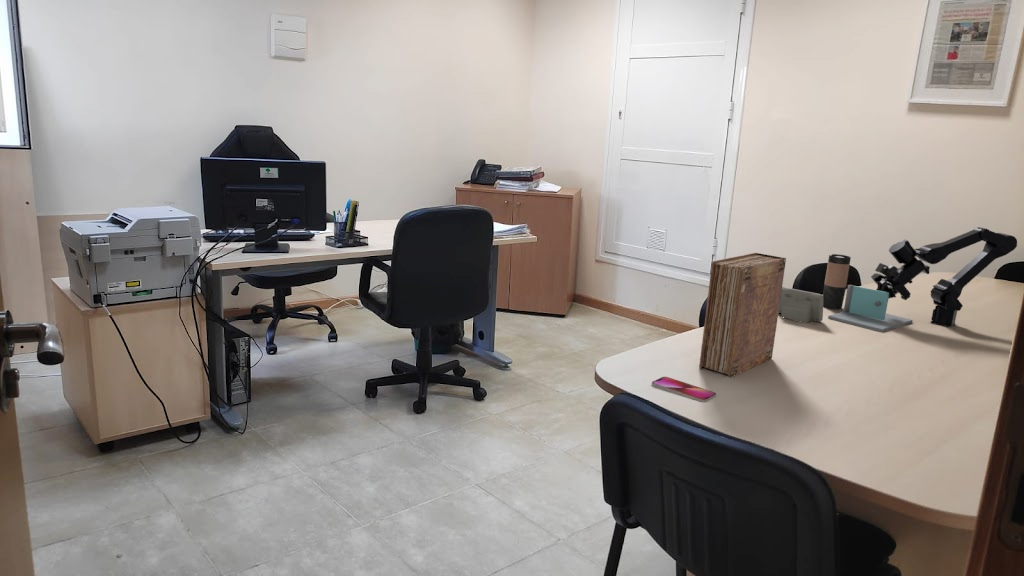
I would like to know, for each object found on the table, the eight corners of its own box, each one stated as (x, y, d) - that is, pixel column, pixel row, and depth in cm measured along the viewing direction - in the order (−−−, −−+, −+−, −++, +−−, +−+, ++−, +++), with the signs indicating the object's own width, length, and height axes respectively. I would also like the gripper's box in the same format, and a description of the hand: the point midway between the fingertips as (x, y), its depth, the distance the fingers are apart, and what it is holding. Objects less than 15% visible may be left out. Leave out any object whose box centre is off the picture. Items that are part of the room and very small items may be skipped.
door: (841, 311, 257) (845, 285, 254) (844, 310, 259) (849, 284, 257) (881, 321, 247) (886, 293, 245) (885, 319, 249) (890, 292, 247)
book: (729, 378, 186) (743, 267, 179) (698, 368, 192) (711, 261, 185) (772, 358, 204) (786, 257, 197) (742, 350, 210) (755, 252, 203)
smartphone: (704, 400, 168) (650, 382, 178) (704, 404, 168) (649, 386, 178) (718, 393, 174) (664, 375, 183) (717, 396, 174) (664, 379, 183)
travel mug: (846, 310, 266) (854, 258, 261) (825, 309, 266) (834, 257, 261) (837, 305, 273) (845, 254, 268) (817, 304, 273) (825, 253, 268)
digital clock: (824, 322, 247) (829, 293, 244) (811, 326, 241) (816, 296, 239) (783, 311, 259) (787, 283, 256) (769, 314, 253) (773, 286, 251)
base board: (912, 322, 253) (913, 314, 252) (881, 332, 238) (883, 323, 237) (858, 309, 267) (860, 302, 267) (826, 318, 253) (828, 310, 252)
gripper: (880, 251, 257) (845, 279, 260) (907, 261, 239) (869, 291, 241) (898, 273, 258) (863, 301, 261) (926, 285, 240) (888, 314, 243)
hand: (870, 301), depth 252 cm, fingers closed
